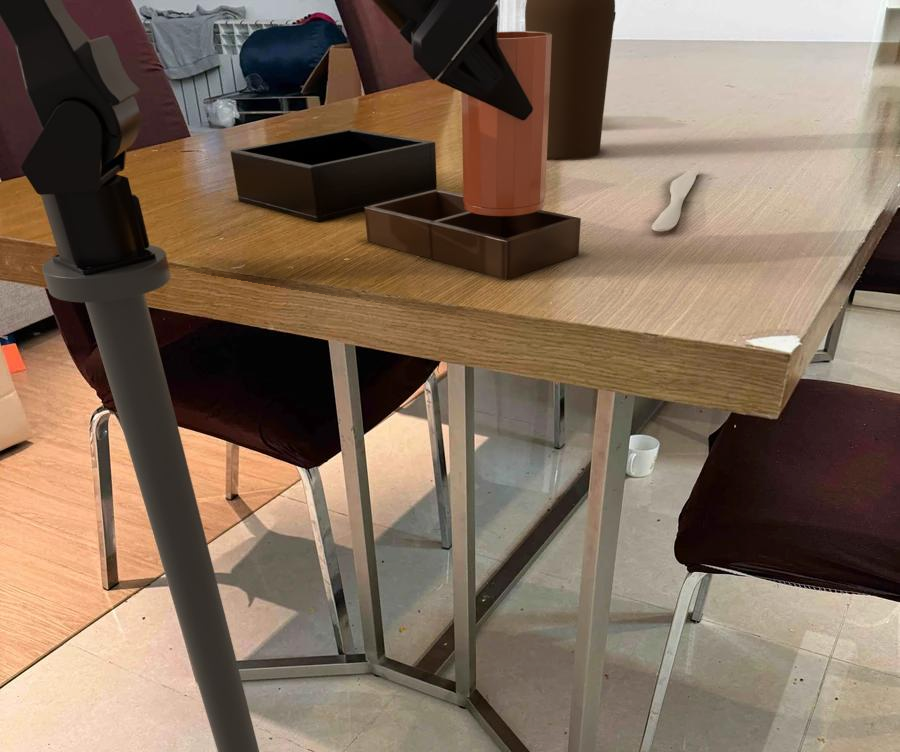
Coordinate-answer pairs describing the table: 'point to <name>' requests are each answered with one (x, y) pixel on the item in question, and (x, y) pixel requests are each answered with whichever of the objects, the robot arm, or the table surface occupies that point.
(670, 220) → the butter knife
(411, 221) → the brown divided tray
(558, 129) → the dark brown cylinder
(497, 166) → the cup
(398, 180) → the black open box
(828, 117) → the table surface
